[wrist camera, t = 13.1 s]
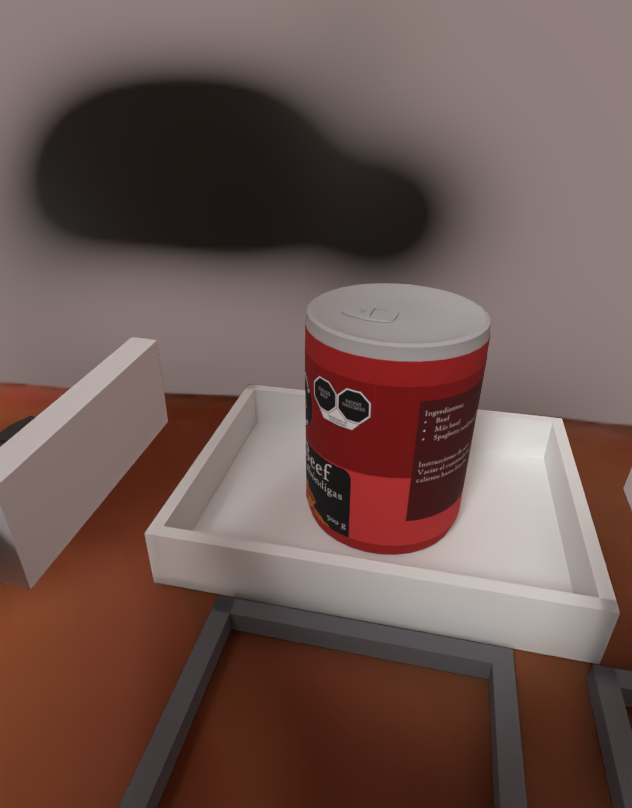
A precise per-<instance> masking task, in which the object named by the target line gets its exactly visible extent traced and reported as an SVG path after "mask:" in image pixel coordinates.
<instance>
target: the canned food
mask: <svg viewBox="0 0 632 808" xmlns="http://www.w3.org/2000/svg"><path fill="white" fill-rule="evenodd" d="M490 324H491V320H490V316H489V314H488V313H487V312H486V310H485V309H483V308H482V307H480V306H479V305H478V304H476V303H475V302H473V301H471V300H469V299H467V298H465V297H462V296H459V295H457V294H454V293H451V292H447V291H443V290H440V289H434V288H430V287H424V286H417V285H408V284H391V283H377V284H363V285H353V286H348V287H343V288H338V289H335V290H332V291H329V292H326V293H324V294H322V295H319V296H317V297H316V298H315V299H313V300H312V301H311V302H310V303H309V305H308V307H307V316H306V324H305V331H306V333H305V412H306V497H307V501H308V504H309V507H310V510H311V512H312V515H313V517H314V519H315V520H316V522H317V523H318V525H319V526H320V527H321V528H322V529H323V530H324V531H325V532H326V533H327V534H328V535H329V536H331V537H332V538H334V539H335V540H337V541H338V542H340V543H343V544H345V545H347V546H349V547H351V548H354V549H358V550H361V551H364V552H370V553H376V554H389V555H397V554H406V553H412V552H416V551H419V550H423V549H425V548H428V547H430V546H432V545H434V544H436V543H437V542H438V541H439V540H441V539H442V538H443V537H444V536H445V535H446V533H447V532H448V531H449V529H450V528H451V526H452V525H453V523H454V521H455V520H456V518H457V515H458V512H459V509H460V504H461V498H462V493H463V487H464V482H465V476H466V471H467V465H468V460H469V454H470V449H471V443H472V437H473V432H474V426H475V421H476V415H477V410H478V404H479V398H480V393H481V388H482V382H483V376H484V370H485V365H486V360H487V351H488V345H489V339H490Z"/></svg>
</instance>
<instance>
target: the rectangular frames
mask: <svg viewBox="0 0 632 808" xmlns="http://www.w3.org/2000/svg"><path fill="white" fill-rule="evenodd" d="M231 629H232V630H237V631H242V632H247V633H252V634H257V635H262V636H268V637H273V638H278V639H283V640H288V641H293V642H298V643H303V644H308V645H313V646H319V647H324V648H329V649H334V650H339V651H344V652H349V653H354V654H359V655H365V656H370V657H375V658H380V659H385V660H390V661H395V662H400V663H405V664H411V665H416V666H421V667H426V668H431V669H436V670H441V671H446V672H451V673H456V674H462V675H467V676H472V677H477V678H482V679H487V680H488V683H489V705H490V726H491V748H492V769H493V790H494V808H527V798H526V787H525V776H524V765H523V754H522V744H521V733H520V722H519V711H518V700H517V689H516V678H515V668H514V657H513V649H509V648H503V647H498V646H492V645H487V644H481V643H476V642H471V641H465V640H460V639H454V638H449V637H444V636H438V635H433V634H427V633H422V632H416V631H411V630H406V629H400V628H395V627H389V626H384V625H379V624H373V623H368V622H362V621H357V620H352V619H346V618H341V617H335V616H330V615H324V614H319V613H314V612H308V611H303V610H297V609H292V608H287V607H281V606H276V605H270V604H265V603H259V602H254V601H249V600H243V599H238V598H232V597H227V596H222V595H218V596H217V599H216V601H215V603H214V605H213V607H212V609H211V611H210V614H209V616H208V618H207V620H206V622H205V624H204V626H203V628H202V631H201V633H200V635H199V637H198V639H197V641H196V643H195V645H194V648H193V650H192V652H191V654H190V656H189V658H188V660H187V662H186V665H185V667H184V669H183V671H182V673H181V675H180V677H179V680H178V682H177V684H176V686H175V688H174V690H173V692H172V694H171V697H170V699H169V701H168V703H167V705H166V707H165V709H164V711H163V714H162V716H161V718H160V720H159V722H158V724H157V726H156V728H155V731H154V733H153V735H152V737H151V739H150V741H149V743H148V746H147V748H146V750H145V752H144V754H143V756H142V758H141V760H140V763H139V765H138V767H137V769H136V771H135V773H134V775H133V777H132V780H131V782H130V784H129V786H128V788H127V790H126V792H125V794H124V797H123V799H122V801H121V803H120V805H119V807H118V808H157V806H158V804H159V802H160V799H161V797H162V794H163V792H164V790H165V787H166V785H167V782H168V780H169V778H170V775H171V773H172V770H173V768H174V766H175V763H176V761H177V758H178V756H179V754H180V751H181V749H182V746H183V744H184V742H185V739H186V737H187V734H188V732H189V730H190V727H191V725H192V722H193V720H194V718H195V715H196V713H197V710H198V708H199V706H200V703H201V701H202V698H203V696H204V694H205V691H206V689H207V686H208V684H209V682H210V679H211V677H212V674H213V672H214V670H215V667H216V665H217V662H218V660H219V658H220V655H221V653H222V650H223V648H224V646H225V643H226V641H227V638H228V636H229V634H230V631H231ZM586 682H587V687H588V692H589V696H590V701H591V706H592V711H593V715H594V720H595V725H596V730H597V735H598V739H599V744H600V749H601V754H602V758H603V763H604V768H605V773H606V777H607V782H608V787H609V792H610V797H611V801H612V806H613V808H632V730H631V726H630V722H629V718H628V714H627V711H626V707H630V708H632V671H628V670H622V669H617V668H611V667H606V666H601V665H595V664H592V667H591V669H590V672H589V675H588V677H587V680H586Z"/></svg>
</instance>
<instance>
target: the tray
mask: <svg viewBox="0 0 632 808" xmlns="http://www.w3.org/2000/svg"><path fill="white" fill-rule="evenodd" d="M144 534H145V539H146V544H147V549H148V554H149V559H150V565H151V570H152V575H153V580H154V582H155V583H160V584H166V585H171V586H177V587H182V588H187V589H193V590H198V591H204V592H209V593H215V594H220V595H225V596H231V597H236V598H242V599H247V600H252V601H258V602H263V603H269V604H274V605H280V606H285V607H290V608H296V609H301V610H307V611H312V612H318V613H323V614H328V615H334V616H339V617H345V618H350V619H355V620H361V621H366V622H372V623H377V624H383V625H388V626H393V627H399V628H404V629H410V630H415V631H421V632H426V633H431V634H437V635H442V636H448V637H453V638H458V639H464V640H469V641H475V642H480V643H486V644H491V645H496V646H502V647H507V648H513V649H518V650H524V651H529V652H534V653H540V654H545V655H551V656H556V657H561V658H567V659H572V660H578V661H583V662H589V663H594V664H599V665H600V662H601V660H602V657H603V655H604V652H605V650H606V647H607V645H608V642H609V640H610V637H611V635H612V632H613V630H614V627H615V625H616V622H617V620H618V617H619V615H620V611H619V608H618V604H617V601H616V598H615V594H614V591H613V588H612V584H611V581H610V578H609V574H608V571H607V568H606V564H605V561H604V558H603V554H602V551H601V548H600V544H599V541H598V538H597V534H596V531H595V528H594V524H593V521H592V518H591V514H590V511H589V507H588V504H587V501H586V497H585V494H584V491H583V487H582V484H581V481H580V477H579V474H578V471H577V467H576V464H575V461H574V457H573V454H572V451H571V447H570V444H569V441H568V437H567V434H566V431H565V427H564V424H563V421H562V419H561V418H552V417H543V416H534V415H525V414H515V413H506V412H497V411H488V410H479V409H478V410H477V415H476V421H475V426H474V432H473V437H472V443H471V449H470V454H469V460H468V465H467V471H466V476H465V482H464V487H463V493H462V498H461V504H460V509H459V512H458V515H457V518H456V520H455V521H454V523H453V525H452V526H451V528H450V529H449V531H448V532H447V533H446V535H445V536H444V537H443V538H442V539H441V540H439V541H438V542H437V543H436V544H434V545H432V546H430V547H428V548H425V549H423V550H419V551H416V552H412V553H406V554H397V555H389V554H376V553H370V552H364V551H361V550H358V549H354V548H351V547H349V546H347V545H345V544H343V543H340V542H338V541H337V540H335V539H334V538H332V537H331V536H329V535H328V534H327V533H326V532H325V531H324V530H323V529H322V528H321V527H320V526H319V525H318V523H317V522H316V520H315V519H314V517H313V515H312V512H311V510H310V507H309V504H308V501H307V497H306V412H305V390H298V389H288V388H279V387H270V386H261V385H252V384H248V385H247V387H246V388H245V390H244V391H243V392H242V394H241V395H240V397H239V398H238V400H237V401H236V402H235V404H234V405H233V407H232V408H231V410H230V411H229V413H228V414H227V415H226V417H225V418H224V420H223V421H222V423H221V424H220V425H219V427H218V428H217V430H216V431H215V433H214V434H213V436H212V437H211V438H210V440H209V441H208V443H207V444H206V446H205V447H204V448H203V450H202V451H201V453H200V454H199V456H198V457H197V459H196V460H195V461H194V463H193V464H192V466H191V467H190V469H189V470H188V471H187V473H186V474H185V476H184V477H183V479H182V480H181V482H180V483H179V484H178V486H177V487H176V489H175V490H174V492H173V493H172V494H171V496H170V497H169V499H168V500H167V502H166V503H165V504H164V506H163V507H162V509H161V510H160V512H159V513H158V515H157V516H156V517H155V519H154V520H153V522H152V523H151V525H150V526H149V527H148V529H147V530H146V532H145V533H144Z"/></svg>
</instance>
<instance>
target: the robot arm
mask: <svg viewBox="0 0 632 808" xmlns="http://www.w3.org/2000/svg"><path fill="white" fill-rule="evenodd" d="M167 422H168V417H167V410H166V403H165V396H164V389H163V381H162V374H161V367H160V360H159V352H158V345H157V340H151V339H142V338H134V337H132V338H130V339H129V340H128V341H127V342H126V343H124V344H123V345H122V346H121V347H120V348H118V349H117V350H116V351H115V352H114V353H113V354H111V355H110V356H109V357H108V358H106V359H105V360H104V361H103V362H102V363H101V364H99V365H98V366H97V367H96V368H94V369H93V370H92V371H91V372H90V373H88V374H87V375H86V376H85V377H84V378H83V379H81V380H80V381H79V382H78V383H77V384H75V385H74V386H73V387H72V388H70V389H69V390H68V391H67V392H66V393H64V394H63V395H62V396H61V397H60V398H58V399H57V400H56V401H55V402H54V403H52V404H51V405H50V406H49V407H48V408H46V409H45V410H44V411H43V412H42V413H40V414H39V415H38V416H37V417H33V416H29V417H27V418H25V419H23V420H21V421H19V422H16V423H14V424H12V425H10V426H8V427H7V428H6V429H5V430H3V431H2V432H1V433H0V583H2V584H7V585H11V586H16V587H21V588H25V589H30V590H31V589H32V587H33V586H34V585H35V584H36V583H37V581H38V580H39V579H40V578H41V576H42V575H43V574H44V573H45V572H46V570H47V569H48V568H49V567H50V565H51V564H52V563H53V562H54V561H55V559H56V558H57V557H58V556H59V554H60V553H61V552H62V551H63V550H64V548H65V547H66V546H67V545H68V543H69V542H70V541H71V540H72V539H73V537H74V536H75V535H76V534H77V532H78V531H79V530H80V529H81V528H82V526H83V525H84V524H85V523H86V521H87V520H88V519H89V518H90V517H91V515H92V514H93V513H94V512H95V510H96V509H97V508H98V507H99V506H100V504H101V503H102V502H103V501H104V499H105V498H106V497H107V496H108V495H109V493H110V492H111V491H112V490H113V488H114V487H115V486H116V485H117V483H118V482H119V481H120V480H121V479H122V477H123V476H124V475H125V474H126V472H127V471H128V470H129V469H130V468H131V466H132V465H133V464H134V463H135V461H136V460H137V459H138V458H139V457H140V455H141V454H142V453H143V452H144V450H145V449H146V448H147V447H148V446H149V444H150V443H151V442H152V441H153V439H154V438H155V437H156V436H157V435H158V433H159V432H160V431H161V430H162V428H163V427H164V426H165V425H166V424H167ZM624 491H625V494H626V497H627V499H628V502H629V505H630V507H631V510H632V468H631V471H630V473H629V476H628V478H627V481H626V484H625V486H624Z"/></svg>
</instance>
